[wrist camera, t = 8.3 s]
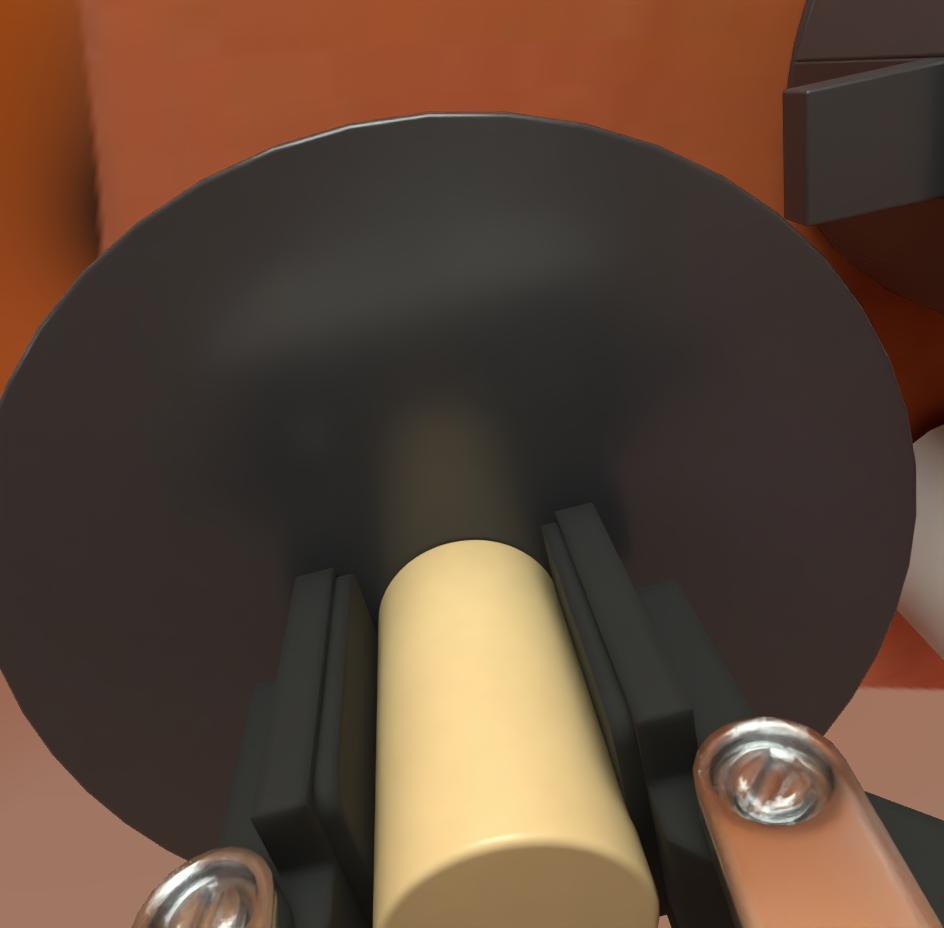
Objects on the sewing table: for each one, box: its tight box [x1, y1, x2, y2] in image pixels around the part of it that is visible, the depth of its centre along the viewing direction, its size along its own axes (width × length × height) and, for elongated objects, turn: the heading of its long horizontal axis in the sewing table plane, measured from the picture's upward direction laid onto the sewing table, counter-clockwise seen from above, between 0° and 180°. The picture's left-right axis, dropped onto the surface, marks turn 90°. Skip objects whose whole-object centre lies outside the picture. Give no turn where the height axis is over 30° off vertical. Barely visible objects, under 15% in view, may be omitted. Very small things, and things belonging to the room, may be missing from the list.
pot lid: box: [0, 111, 917, 928], centre depth 10 cm, size 13×13×6 cm
